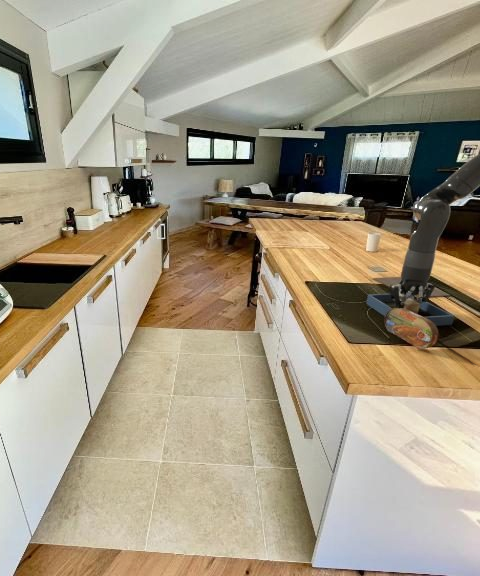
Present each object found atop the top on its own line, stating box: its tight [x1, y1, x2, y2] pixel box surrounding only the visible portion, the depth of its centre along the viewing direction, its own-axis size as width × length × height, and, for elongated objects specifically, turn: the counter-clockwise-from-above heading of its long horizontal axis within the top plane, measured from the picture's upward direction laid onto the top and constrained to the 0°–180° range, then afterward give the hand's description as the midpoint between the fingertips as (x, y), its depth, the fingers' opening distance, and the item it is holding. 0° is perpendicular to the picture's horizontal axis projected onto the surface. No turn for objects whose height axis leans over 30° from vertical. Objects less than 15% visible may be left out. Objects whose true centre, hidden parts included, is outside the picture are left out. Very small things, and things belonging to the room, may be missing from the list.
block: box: [401, 298, 420, 315], centre depth 103 cm, size 5×5×5 cm
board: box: [372, 276, 452, 298], centre depth 125 cm, size 16×22×2 cm
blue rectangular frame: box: [365, 293, 455, 327], centre depth 103 cm, size 15×19×4 cm
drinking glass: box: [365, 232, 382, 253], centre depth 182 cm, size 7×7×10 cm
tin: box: [384, 307, 439, 350], centre depth 88 cm, size 15×3×8 cm, turn 13°
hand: (405, 313), depth 104 cm, fingers closed on block, 4 cm apart
